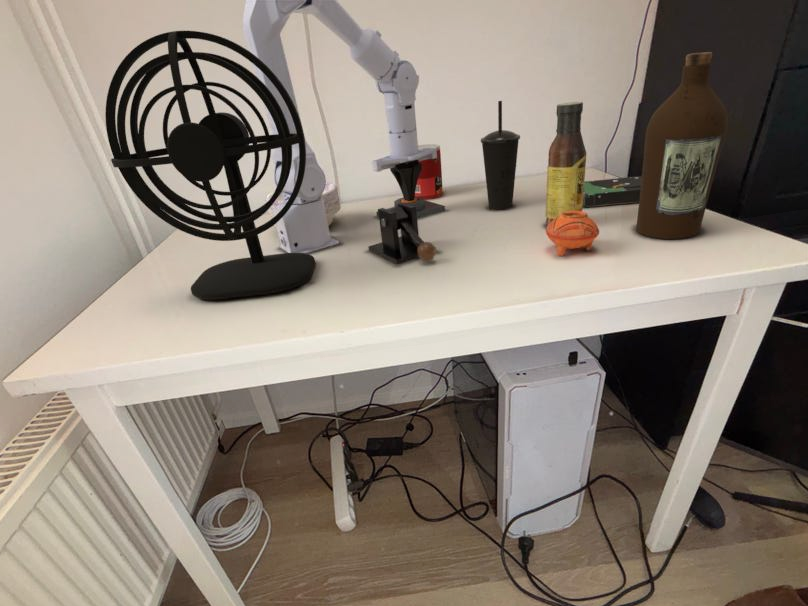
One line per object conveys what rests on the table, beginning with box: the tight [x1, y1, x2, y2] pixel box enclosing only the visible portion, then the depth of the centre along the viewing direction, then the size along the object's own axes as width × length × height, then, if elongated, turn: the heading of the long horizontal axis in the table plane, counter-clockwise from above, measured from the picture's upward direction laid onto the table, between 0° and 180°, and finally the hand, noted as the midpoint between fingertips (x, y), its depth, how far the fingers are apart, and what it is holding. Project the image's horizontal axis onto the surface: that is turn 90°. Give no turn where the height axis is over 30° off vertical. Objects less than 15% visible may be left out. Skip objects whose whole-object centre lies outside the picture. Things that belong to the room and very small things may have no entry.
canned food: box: [415, 143, 444, 201], centre depth 115 cm, size 8×8×11 cm
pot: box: [545, 211, 600, 257], centre depth 76 cm, size 8×8×7 cm
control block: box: [375, 196, 446, 220], centre depth 105 cm, size 12×9×3 cm
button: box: [401, 198, 418, 203], centre depth 105 cm, size 4×4×2 cm
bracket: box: [368, 203, 437, 265], centre depth 84 cm, size 10×8×8 cm
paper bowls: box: [264, 182, 341, 227], centre depth 103 cm, size 15×15×8 cm
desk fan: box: [104, 30, 316, 301], centre depth 72 cm, size 27×18×35 cm, turn 92°
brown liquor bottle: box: [635, 51, 729, 240], centre depth 74 cm, size 11×11×25 cm
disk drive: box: [582, 175, 642, 208], centre depth 98 cm, size 10×3×15 cm
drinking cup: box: [480, 100, 521, 211], centre depth 97 cm, size 8×8×20 cm
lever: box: [389, 207, 437, 262], centre depth 81 cm, size 12×3×3 cm, turn 31°
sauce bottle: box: [545, 101, 587, 227], centre depth 83 cm, size 7×6×20 cm
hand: (409, 200), depth 104 cm, fingers closed, pressing on button
